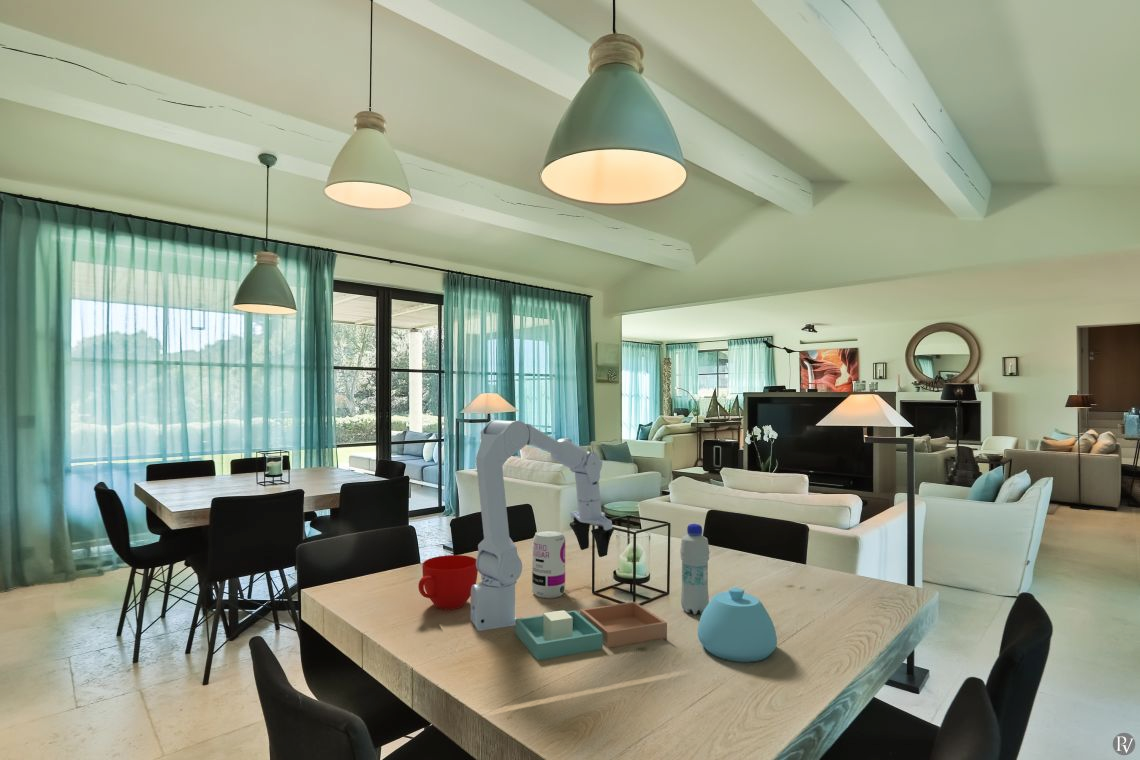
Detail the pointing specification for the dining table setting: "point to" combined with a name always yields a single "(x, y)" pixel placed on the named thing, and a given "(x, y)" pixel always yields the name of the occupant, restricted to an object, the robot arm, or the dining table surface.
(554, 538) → the supplement can
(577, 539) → the robot arm
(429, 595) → the ceramic cup
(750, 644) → the sugar bowl
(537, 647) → the bin
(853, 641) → the dining table surface
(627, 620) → the bin
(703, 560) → the bottle
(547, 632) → the cube
